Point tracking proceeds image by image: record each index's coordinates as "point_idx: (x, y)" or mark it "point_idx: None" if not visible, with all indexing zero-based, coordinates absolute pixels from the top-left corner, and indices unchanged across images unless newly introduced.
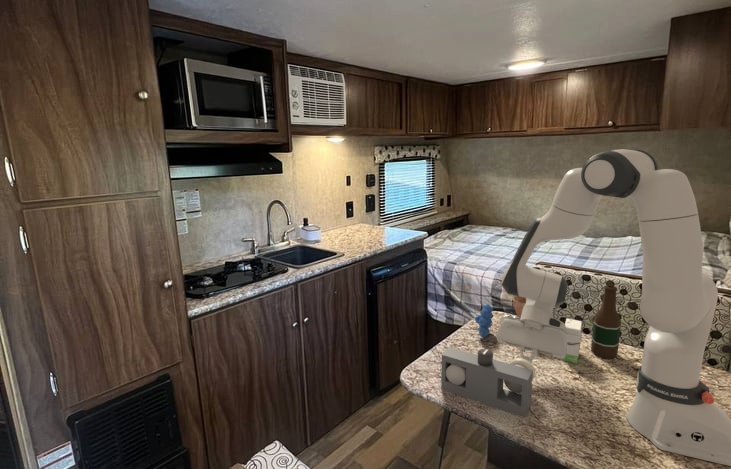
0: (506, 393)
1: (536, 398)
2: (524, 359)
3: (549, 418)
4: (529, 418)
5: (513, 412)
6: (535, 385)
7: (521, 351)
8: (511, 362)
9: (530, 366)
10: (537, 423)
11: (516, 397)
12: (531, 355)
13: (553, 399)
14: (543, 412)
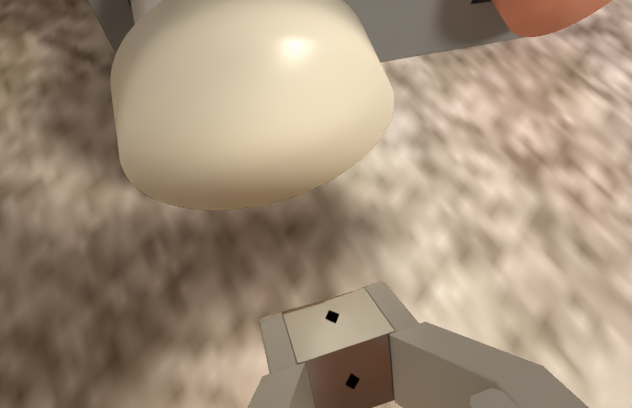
0: None
1: (144, 200)
2: (231, 41)
3: (18, 89)
4: None
5: None
6: (215, 344)
7: (468, 359)
8: (348, 5)
9: (130, 49)
10: (64, 24)
11: None
12: (285, 398)
13: (41, 274)
14: (62, 111)
